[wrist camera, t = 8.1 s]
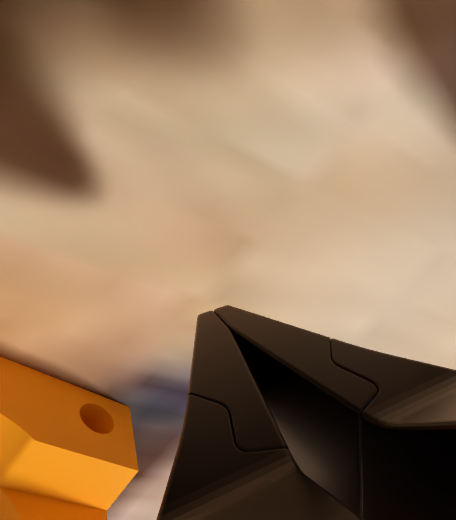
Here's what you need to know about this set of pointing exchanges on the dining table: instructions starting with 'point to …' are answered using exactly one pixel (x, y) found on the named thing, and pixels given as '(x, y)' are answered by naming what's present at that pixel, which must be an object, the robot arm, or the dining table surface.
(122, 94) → the dining table surface
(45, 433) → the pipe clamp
